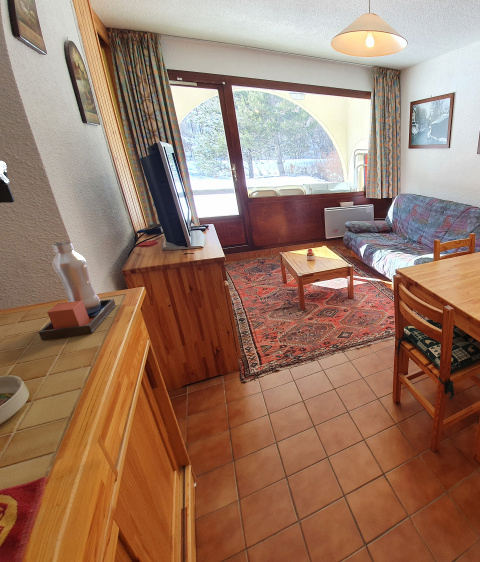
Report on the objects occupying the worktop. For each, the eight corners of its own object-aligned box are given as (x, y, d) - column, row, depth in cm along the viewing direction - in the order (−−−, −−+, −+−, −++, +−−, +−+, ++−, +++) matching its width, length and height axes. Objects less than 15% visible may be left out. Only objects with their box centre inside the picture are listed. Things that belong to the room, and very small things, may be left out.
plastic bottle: (66, 315, 85) (36, 245, 77) (94, 305, 91) (68, 239, 83) (81, 320, 83) (53, 248, 75) (109, 309, 89) (84, 241, 81)
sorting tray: (41, 340, 75) (37, 332, 74) (74, 311, 89) (71, 303, 88) (92, 333, 79) (89, 325, 78) (116, 306, 92) (113, 298, 91)
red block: (56, 333, 77) (46, 312, 75) (66, 323, 81) (57, 303, 79) (81, 329, 79) (72, 309, 76) (90, 320, 83) (82, 300, 81)
